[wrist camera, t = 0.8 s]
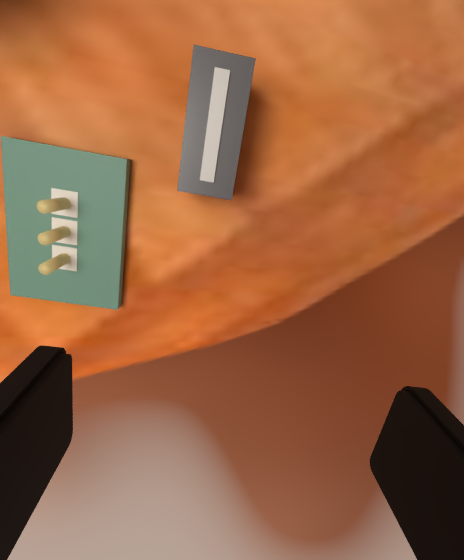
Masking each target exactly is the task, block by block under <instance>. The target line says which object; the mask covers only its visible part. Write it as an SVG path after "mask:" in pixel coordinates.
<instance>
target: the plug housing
mask: <svg viewBox="0 0 464 560" xmlns="http://www.w3.org/2000/svg"><path fill="white" fill-rule="evenodd" d="M255 59H256V58H251V57H247V56H242V55H238V54H233V53H229V52H224V51H220V50H216V49H211V48H207V47H202V46H198V45H194V47H193V56H192V65H191V74H190V83H189V92H188V101H187V109H186V118H185V127H184V136H183V145H182V154H181V163H180V171H179V180H178V189H177V191H182V192H188V193H193V194H199V195H205V196H210V197H216V198H222V199H227V200H232V196H233V190H234V184H235V178H236V172H237V166H238V160H239V154H240V148H241V142H242V136H243V130H244V124H245V118H246V113H247V107H248V101H249V95H250V89H251V83H252V77H253V71H254V65H255Z"/></svg>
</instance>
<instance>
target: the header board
mask: <svg viewBox="0 0 464 560" xmlns="http://www.w3.org/2000/svg"><path fill="white" fill-rule="evenodd" d="M1 146H2V162H3V179H4V196H5V212H6V229H7V246H8V262H9V279H10V295H13V296H21V297H28V298H35V299H43V300H50V301H58V302H65V303H72V304H80V305H87V306H95V307H102V308H109V309H117V310H118V309H119V307H120V306H121V303H122V287H123V271H124V256H125V240H126V225H127V209H128V193H129V178H130V162H131V160H129V159H123V158H118V157H113V156H107V155H102V154H96V153H91V152H85V151H80V150H74V149H69V148H64V147H58V146H53V145H47V144H42V143H36V142H31V141H25V140H20V139H14V138H9V137H3V136H1Z"/></svg>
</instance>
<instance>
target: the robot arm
mask: <svg viewBox="0 0 464 560" xmlns="http://www.w3.org/2000/svg"><path fill="white" fill-rule="evenodd" d="M72 411H73V410H72V356H71V355H70V354H66V351H65V349H64V348H60V347H51V346H39V347H37V348H36V349H35V350H34V351H33V352H32V353H31V354H30V355H29V356H28V357H27V358H26V359H25V360H24V361H23V362H22V363H21V364H20V365H19V366H18V367H17V368H16V369H15V370H14V371H13V372H11V373H10V374H9V375H8V376H7V377H6V378H5V379H4V380H3V381H2V382H1V383H0V560H7V559H8V557H9V555H10V553H11V551H12V550H13V548H14V546H15V544H16V542H17V540H18V538H19V537H20V535H21V533H22V531H23V529H24V527H25V526H26V524H27V522H28V520H29V518H30V516H31V514H32V513H33V511H34V509H35V507H36V505H37V503H38V502H39V500H40V498H41V496H42V494H43V493H44V491H45V489H46V487H47V485H48V483H49V482H50V479H51V478H52V476H53V474H54V472H55V471H56V469H57V467H58V465H59V463H60V461H61V459H62V457H63V456H64V454H65V452H66V450H67V448H68V446H69V444H70V442H71V438H72V433H73V420H72V419H73V417H72V416H73V413H72ZM370 467H371V470H372V472H373V475H374V476H375V478H376V480H377V482H378V484H379V486H380V488H381V490H382V492H383V494H384V496H385V498H386V499H387V502H388V504H389V506H390V508H391V509H392V511H393V513H394V515H395V517H396V519H397V521H398V523H399V525H400V527H401V529H402V531H403V533H404V535H405V537H406V538H407V540H408V542H409V544H410V546H411V548H412V550H413V552H414V554H415V556H416V558H417V560H464V425H463V424H462V423H461V422H460V421H459V420H458V419H457V418H456V417H455V416H454V415H453V414H452V413H451V412H450V411H449V410H448V409H447V408H446V407H445V406H444V405H443V404H442V403H441V402H440V401H439V399H437V398H436V396H435V395H434V394H433V393H432V392H431V391H430V390H428V389H426V388H420V387H410V386H406V387H404V388H403V389H402V390H401V391H399V392H397V394H396V396H395V398H394V401H393V403H392V406H391V408H390V411H389V413H388V416H387V418H386V420H385V423H384V425H383V428H382V430H381V433H380V435H379V438H378V440H377V442H376V445H375V447H374V450H373V452H372V455H371V458H370Z"/></svg>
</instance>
